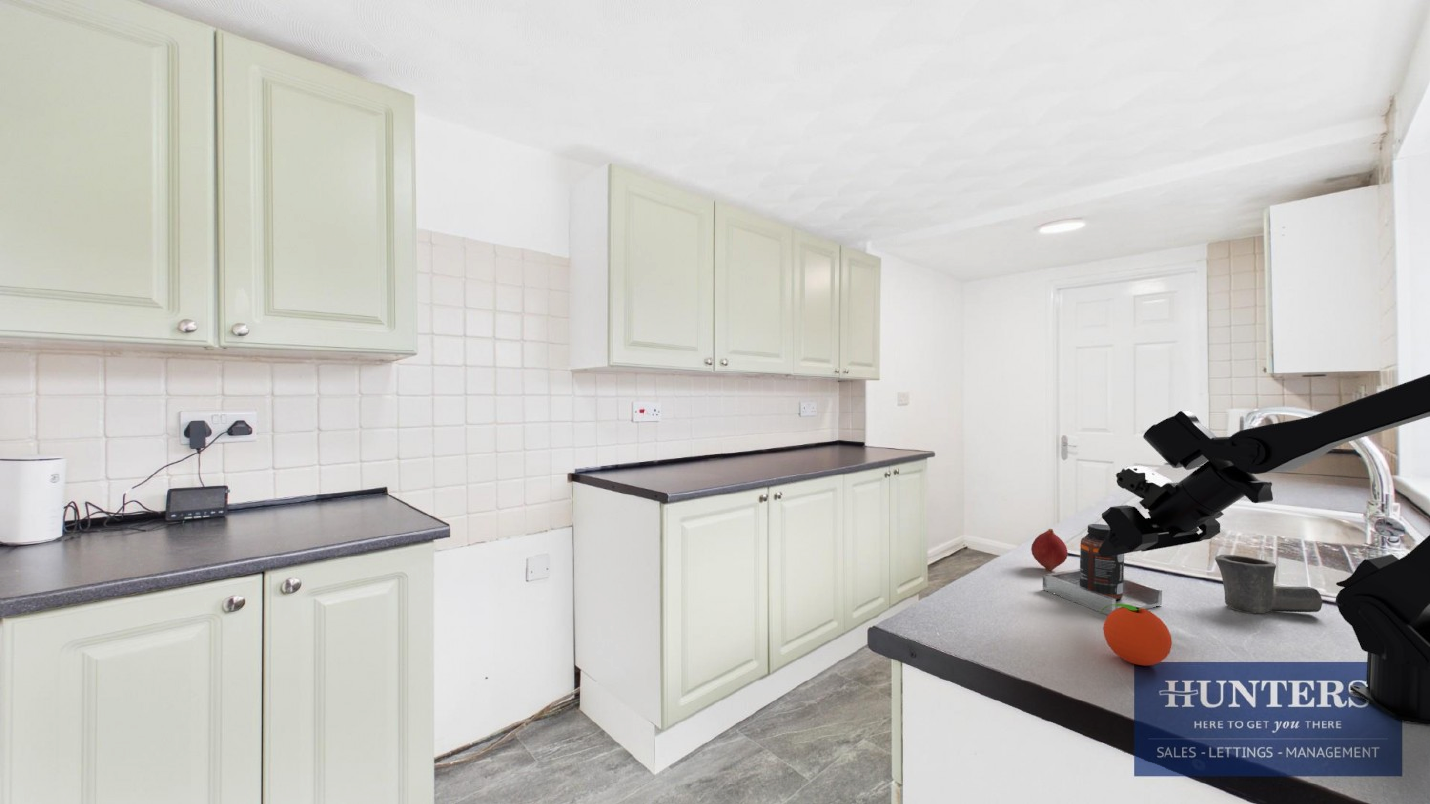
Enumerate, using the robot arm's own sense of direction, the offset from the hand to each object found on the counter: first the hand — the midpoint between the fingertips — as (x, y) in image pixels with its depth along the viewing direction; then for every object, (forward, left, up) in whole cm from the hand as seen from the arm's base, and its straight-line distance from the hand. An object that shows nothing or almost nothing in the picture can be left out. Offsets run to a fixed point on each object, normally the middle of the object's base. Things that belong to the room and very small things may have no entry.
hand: (1120, 551), depth 88 cm
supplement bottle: (+2, +2, -8) cm, 9 cm away
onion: (+15, +6, -9) cm, 19 cm away
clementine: (-20, +6, -9) cm, 23 cm away
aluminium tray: (+2, +2, -9) cm, 9 cm away
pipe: (+4, -21, -9) cm, 23 cm away
